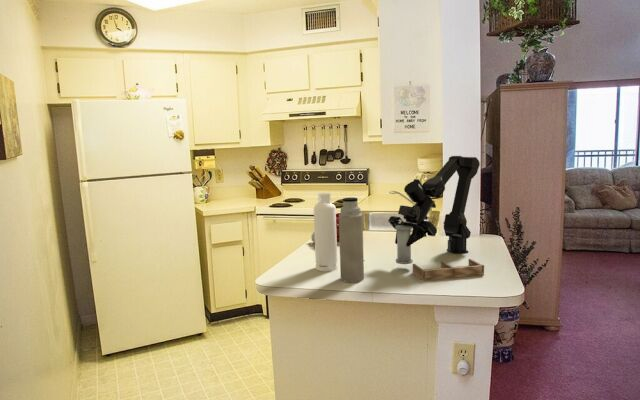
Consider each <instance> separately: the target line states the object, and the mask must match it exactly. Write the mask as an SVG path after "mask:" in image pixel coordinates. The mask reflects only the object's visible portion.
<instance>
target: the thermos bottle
mask: <svg viewBox="0 0 640 400" xmlns="http://www.w3.org/2000/svg"><path fill="white" fill-rule="evenodd" d="M361 211H362V209H361V207H360V206H359V205H358V198H357V197H343V198H342V207H341V208H340V211H339V213H341V214H339V239H340V241H339V266H340V270H339V271H340V280H341V281H342V282H345V283H359V282H362V281H363V280H364V279H365V266H364V265H365V264H364V262H365V261H364V260H365V259H364V226H363V225H364V223H363V222H364V221H363V220H364V219H363V213H362V212H361Z"/></svg>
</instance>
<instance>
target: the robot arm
mask: <svg viewBox="0 0 640 400" xmlns="http://www.w3.org/2000/svg"><path fill="white" fill-rule="evenodd" d="M480 163H481V162H480V160H479V159H478V158H477V157H475V156H462V155H451V156H449V158H448V160H447V161H446V163H445V164H444V165H443V166H442V167H441V169H440V170H438V172H437V173H436V174H435V175H434V176H433V177H431V178H428V179H426V181H424V182H423V183H421V181H420V179H416V178H414V179H413V180H412V181H411V182H408V183H407V184H406V185H404V189H403V190H404V192H405V194H406V195H407V196H408V198H409V199H410V200H411V202H413V203H415V204H414V205H412V206H410V205H409V206H408V205H399V208H398V209H399V210H398V212H397V214H398V215H400V216H395V215H393V216H392V215H391V216H390V217H389V219H388V220H387V222H388V223H389V224H390V225H391V226H392V228H393V229H395V226H398V225H410V226H412V232H411V235H410V237H409V239H408V241H407V244H406V246H407V247H408V246H410V245H413V244H414V243H416V242H417V241H420V240H421V239H423V238H426V237H427V236H429V237H436V236H437V235H436V234H437V232H438V229H437V227H435V225H434V224H433V222H432V221H430V220H428V219H429V217H428V214H429V212H430V211H431V209H432V208H434V209H435V208H436V207H437V205H436V201H435V200H433V199H432V198H435V199H439V198H441V197H442V195H444V194H443V193H444V192H445V191H446V185H447V182H448V181H449V180H450V179H451V178H452V177H453V176H454V174H455V173H457V175H458V181H457V183H456V184H457V185H456V189H455V193H454V199H453V203H452V207H451V211H450V212H449V214H448V213H446V214H445V216H444V220H443V230H444V235H445V236H446V237H448V239H447V249H446V251H448V252H450V253H452V254H464V253H469V250H467V239H469V238H470V237H471V231H470V229H469V228H468V226H467V222H468V220H467V218H466V215H465V212H466V207H467V203H468V196H469V192H470V187H471V183H472V179H474V177H475V176H476V175H477V174H478V171H479V167H480V165H481V164H480ZM401 216H403V219H402V218H401ZM427 220H428V221H427ZM395 230H396V233H395V240H394V243H395V244H396V245H397V229H395Z"/></svg>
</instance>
